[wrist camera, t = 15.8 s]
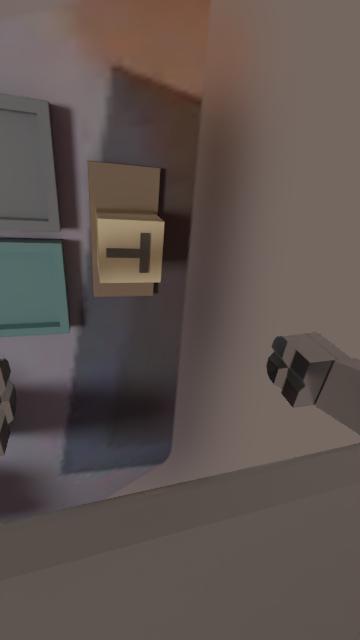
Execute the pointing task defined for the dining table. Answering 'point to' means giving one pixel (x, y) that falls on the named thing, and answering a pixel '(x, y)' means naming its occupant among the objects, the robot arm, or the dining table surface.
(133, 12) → the dining table surface
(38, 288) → the teal bin
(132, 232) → the letter cube
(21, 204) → the gray bin
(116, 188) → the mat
